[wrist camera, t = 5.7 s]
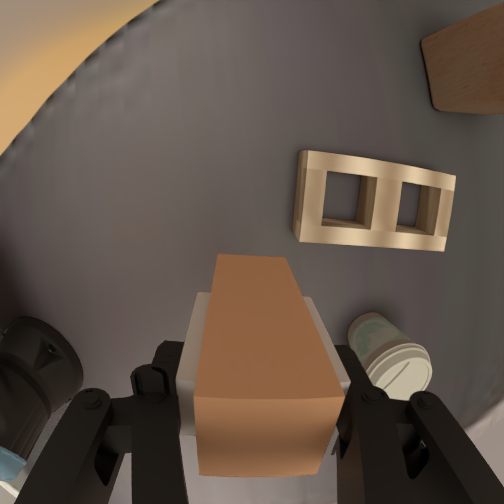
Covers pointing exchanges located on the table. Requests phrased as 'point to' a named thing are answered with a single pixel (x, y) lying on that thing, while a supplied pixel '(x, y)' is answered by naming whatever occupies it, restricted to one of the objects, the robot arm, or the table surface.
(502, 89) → the block
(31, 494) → the robot arm
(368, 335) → the coffee cup
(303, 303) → the peg
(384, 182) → the socket block
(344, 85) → the table surface
